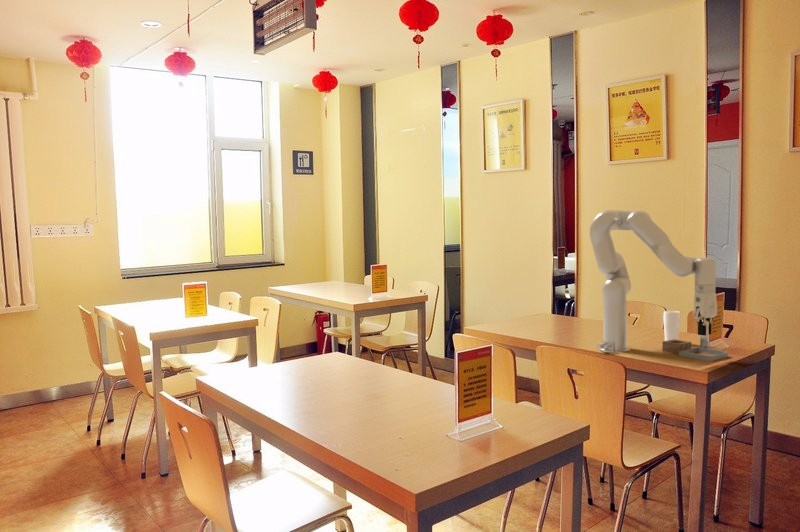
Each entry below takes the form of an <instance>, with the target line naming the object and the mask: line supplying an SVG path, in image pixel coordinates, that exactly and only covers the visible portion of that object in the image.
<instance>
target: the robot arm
mask: <svg viewBox="0 0 800 532" xmlns="http://www.w3.org/2000/svg"><path fill="white" fill-rule="evenodd" d="M611 231H631V232H632V233H634V234H635V236H636V237H638V238H639V239H640V240H641V241H642V242H643V243H644V244H645V245H646V246H647V247H648V248H649V249H650V250H651V252H652V253H653V254H654V255H655V256H656V257H657V258H658V259H659V260H660V261H661V262H662V263H663V265H664V266H665V267H666V268H667V269H669V271H671V272H672V273H673V274H674V275H675V276H677V277H679V278H680V277H681V278H685V277H687V276H691V275H694V290H693V291H694V299H693V316H694V317H693V320H694V321H695V322H696V324H697V335H698V336H700V335H704V336H705V335H706V325H705V320H708V322H709V335H711V334H712V324H713V319H714V318H715V317H716V316H717V315H718V302H717V301H718V300H717V293H716V273H717V272H716V269H717V268H716V259H715V258H713V257H691V256H684V255H683V254H682V253H681V251H679V250H678V249H677V248H676V247H675V246H674V245H673V243H672V241H671V240H670V237H669V236H668V234H667V233H666V232H665V231H664V230H663V229H662V228H661V227H659V226H658V225H657V224H656V223H655V222H654V221H653V220H652V218H651V216H650V214H649V213H648V212H646V211H644V210H604V211H601V212H600V213H598V214H597V215H596V216H595V217H594V218H593V220H592V221H591V223H590V226H589V237H590V238H589V239H590V242H591V246H592V249H593V254H594V257H595V262H596V264H597V267H598V271H599V272H600V273H602V274H603V275H605V278H606V280H605V281H604V283H603V285H602V291H601V292H602V305H603V306H602V309H603V311H602V313H603V314H602V315H603V317H602V319H603V321H602V324H603V326H602V327H603V329H602V333H603V334H602V335H603V336H602V341H601V343H598V344H596V348H597V349H599V351H601V352H603V353H608V354H609V353H610V354H618V353H620V352H622V353H623V352H628V351H631V348H630V347H629V346H627V344H628V343H627V342H628V341H627V340H628V339H627V338H628V337H627V336H628V331H627V329H628V327H627V326H628V325H627V324H628V314H627V313H628V311H627V310H628V305H627V304H628V303H627V295H629V293H630V291H631V288H632V283H631V279H630V275H629V272H628V270H627V265H626V261H625V259H624V257H623V256H622V254H620V253H619V252H617V251H616V249H615V245H614V242H613V239H612V236H611ZM702 320H703V321H702Z"/></svg>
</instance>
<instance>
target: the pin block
mask: <svg viewBox="0 0 800 532" xmlns="http://www.w3.org/2000/svg"><path fill="white" fill-rule="evenodd" d="M661 346H662V348H661V349H662V352H665V353H670V354H675V355H676V354H677V355H679V351H682V350H686V349H690V348H692V341H686V340H681V339H678V340H675V339H672V340H668V341H665V340H664V341H662V345H661Z"/></svg>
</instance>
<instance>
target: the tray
mask: <svg viewBox="0 0 800 532" xmlns="http://www.w3.org/2000/svg"><path fill="white" fill-rule="evenodd" d="M697 352H698V353H697ZM699 353H700V354H699ZM701 353H703V354H701ZM704 354H705V355H704ZM706 354H710V355H706ZM678 356H679V357H685V358H690V359H696V360H700V361H701V360H702V361H707V362H713V361H718V360H720V359H724V358H727V357H729V351H725V350H724V351H723V350H720V349H718V350H717V349H711V348H708V349H702V348H700V346H699V347H698V346H695V347H691V348H690V349H686V350H682V351H679V354H678Z"/></svg>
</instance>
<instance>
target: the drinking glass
mask: <svg viewBox="0 0 800 532" xmlns="http://www.w3.org/2000/svg"><path fill="white" fill-rule="evenodd" d="M662 319H663V331H664V332H663V333H664V341H668V340H672V339H675V340H679V336H680V335H679V334H680V326H681V311H679V310H663V317H662Z"/></svg>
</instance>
